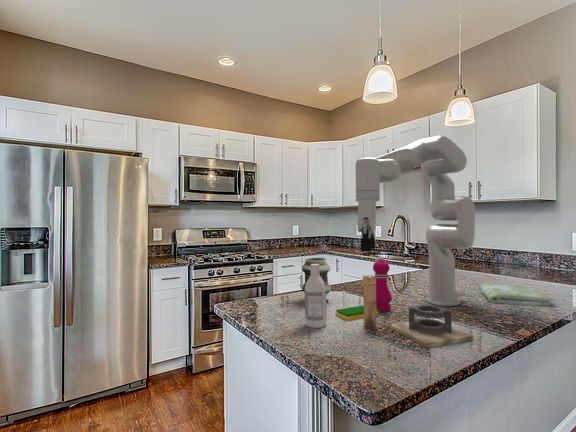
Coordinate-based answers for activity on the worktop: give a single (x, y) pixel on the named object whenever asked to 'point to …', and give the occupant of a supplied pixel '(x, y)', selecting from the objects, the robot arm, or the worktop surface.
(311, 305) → the bath foam
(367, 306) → the tan cylinder
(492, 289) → the towel
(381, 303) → the pepper mill
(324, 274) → the apothecary jar
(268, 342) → the worktop surface
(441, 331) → the collar stand
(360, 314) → the dish sponge
